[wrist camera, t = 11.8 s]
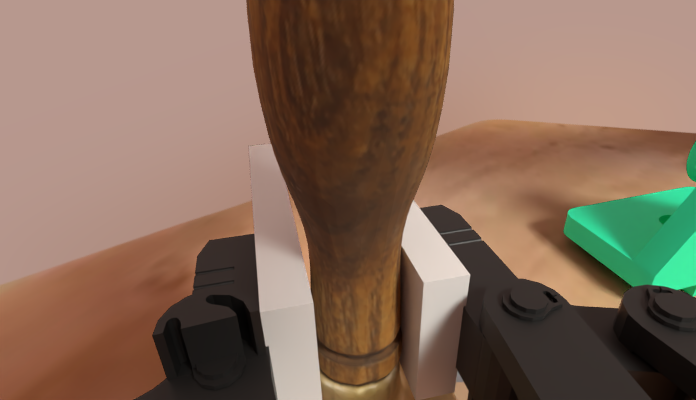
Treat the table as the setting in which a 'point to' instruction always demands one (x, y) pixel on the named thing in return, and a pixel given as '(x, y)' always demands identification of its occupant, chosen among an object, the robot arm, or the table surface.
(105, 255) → the table surface
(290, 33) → the hand bell
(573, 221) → the camera mount
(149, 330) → the table surface
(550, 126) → the table surface
